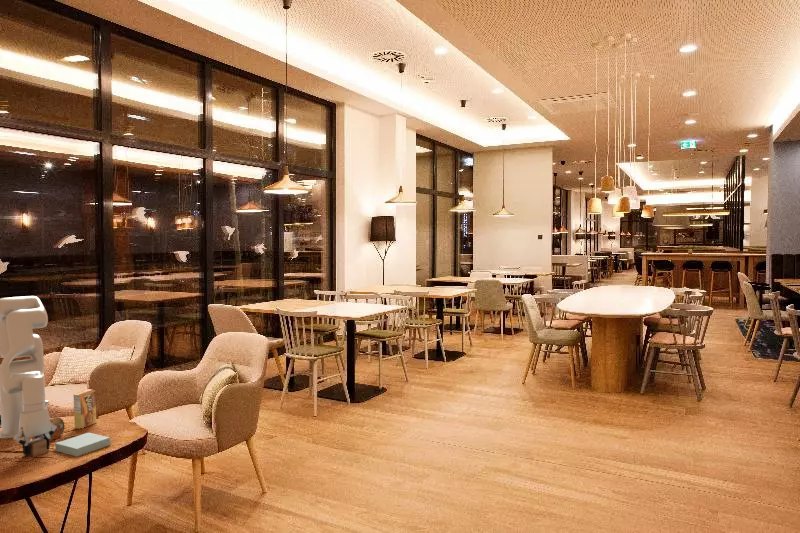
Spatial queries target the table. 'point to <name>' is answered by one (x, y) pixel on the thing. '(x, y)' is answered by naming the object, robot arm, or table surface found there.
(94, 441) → the plinth
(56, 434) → the tin
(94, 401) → the candy box
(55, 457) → the table surface
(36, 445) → the walnut block
